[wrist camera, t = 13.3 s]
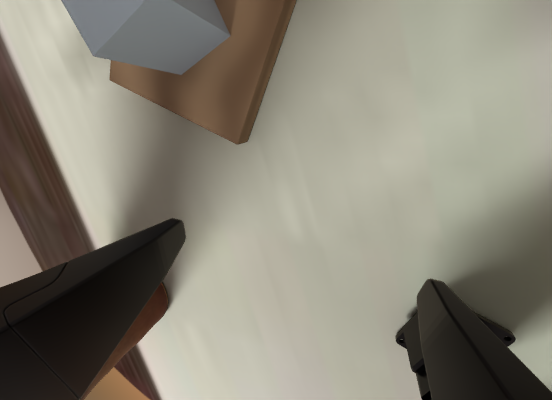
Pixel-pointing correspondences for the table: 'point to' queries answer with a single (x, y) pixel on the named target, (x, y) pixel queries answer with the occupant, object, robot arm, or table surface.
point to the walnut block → (220, 71)
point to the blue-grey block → (150, 31)
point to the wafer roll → (135, 332)
